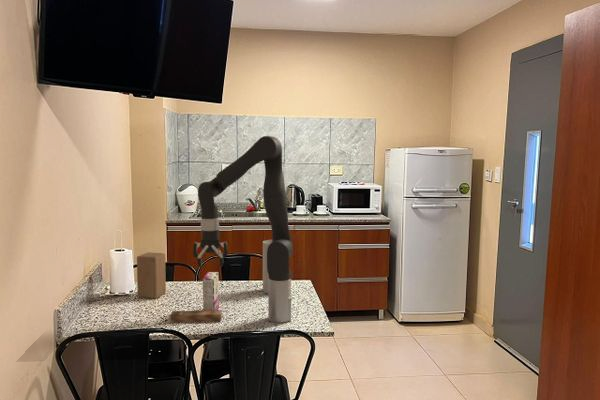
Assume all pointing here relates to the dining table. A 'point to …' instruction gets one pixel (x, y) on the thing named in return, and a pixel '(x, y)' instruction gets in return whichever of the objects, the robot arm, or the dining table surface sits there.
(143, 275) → the wooden block
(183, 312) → the guide board
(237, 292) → the dining table surface
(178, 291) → the dining table surface
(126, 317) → the dining table surface
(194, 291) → the dining table surface
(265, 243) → the cylinder vase
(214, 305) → the candy bar box
